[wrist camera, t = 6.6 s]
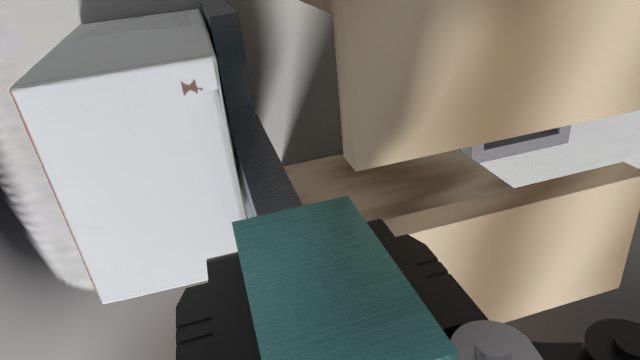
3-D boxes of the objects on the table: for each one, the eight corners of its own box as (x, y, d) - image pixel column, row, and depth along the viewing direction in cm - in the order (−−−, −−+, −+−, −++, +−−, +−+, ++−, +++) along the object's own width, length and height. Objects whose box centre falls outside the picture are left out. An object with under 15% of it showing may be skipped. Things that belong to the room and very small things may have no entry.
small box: (77, 22, 21) (-2, 80, 12) (202, 6, 22) (216, 48, 13) (128, 178, 25) (97, 312, 16) (232, 158, 26) (260, 273, 17)
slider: (237, -6, 22) (470, 165, 5) (265, 165, 26) (444, 580, 9) (183, 2, 22) (230, 219, 4) (221, 174, 26) (321, 632, 9)
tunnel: (441, -65, 24) (714, -77, 12) (436, 148, 30) (619, 287, 18) (249, -43, 22) (342, -30, 10) (282, 181, 28) (368, 364, 16)
